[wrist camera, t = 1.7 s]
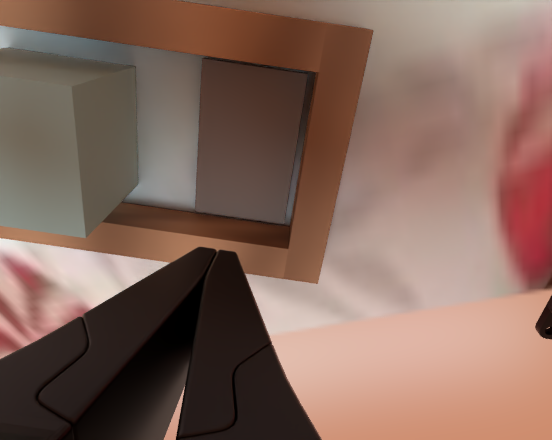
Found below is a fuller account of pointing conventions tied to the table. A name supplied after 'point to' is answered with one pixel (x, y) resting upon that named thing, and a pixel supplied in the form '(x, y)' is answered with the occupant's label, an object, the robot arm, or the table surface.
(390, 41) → the table surface
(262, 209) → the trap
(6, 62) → the block
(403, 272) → the table surface
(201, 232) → the channel
